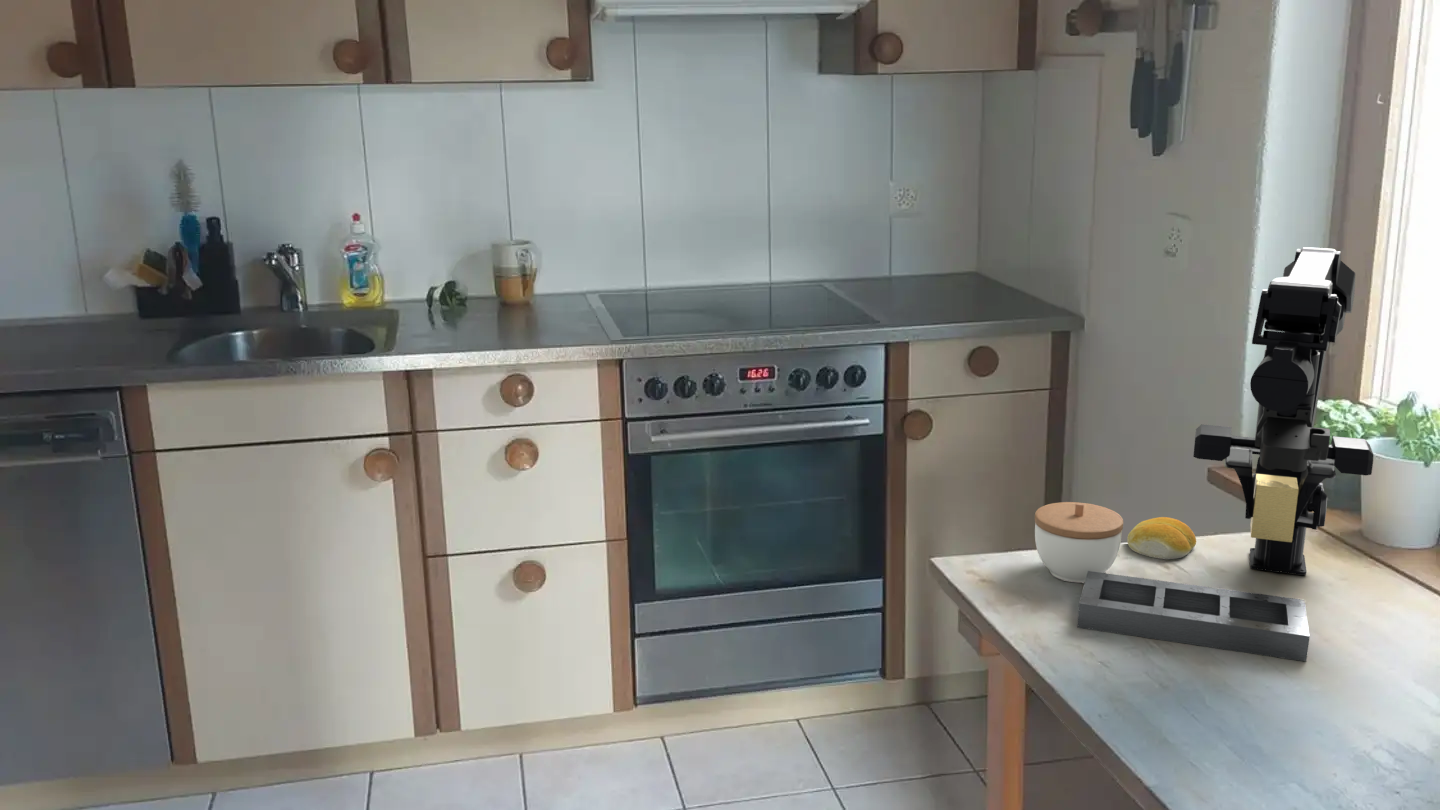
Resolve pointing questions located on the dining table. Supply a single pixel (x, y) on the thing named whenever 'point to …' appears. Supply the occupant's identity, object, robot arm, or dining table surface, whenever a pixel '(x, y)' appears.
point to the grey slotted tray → (1195, 615)
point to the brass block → (1274, 507)
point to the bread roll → (1162, 538)
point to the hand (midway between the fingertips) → (1272, 518)
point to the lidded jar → (1077, 539)
